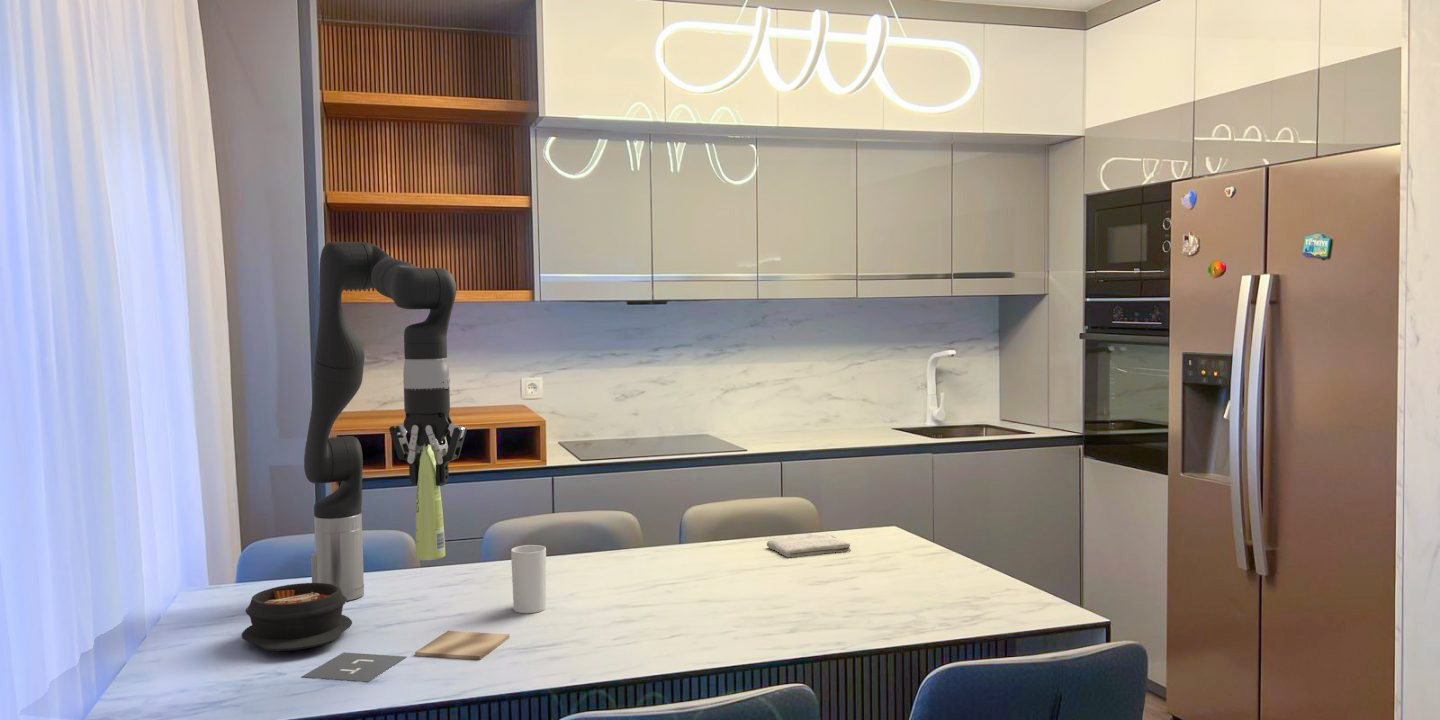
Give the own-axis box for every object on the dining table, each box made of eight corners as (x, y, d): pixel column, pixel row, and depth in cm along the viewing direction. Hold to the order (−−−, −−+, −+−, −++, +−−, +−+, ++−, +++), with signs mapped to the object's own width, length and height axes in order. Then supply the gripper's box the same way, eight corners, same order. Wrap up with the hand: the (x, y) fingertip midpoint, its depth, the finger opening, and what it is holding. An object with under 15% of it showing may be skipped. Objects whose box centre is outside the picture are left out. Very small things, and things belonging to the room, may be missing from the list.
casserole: (240, 627, 194) (239, 583, 194) (345, 613, 202) (343, 571, 202) (242, 668, 172) (241, 618, 172) (360, 650, 180) (358, 603, 180)
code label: (301, 680, 167) (301, 676, 167) (343, 655, 179) (343, 652, 179) (368, 685, 164) (368, 681, 164) (407, 660, 176) (406, 656, 176)
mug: (546, 613, 201) (545, 552, 200) (511, 615, 200) (510, 553, 199) (547, 598, 211) (546, 540, 210) (514, 600, 210) (512, 542, 209)
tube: (407, 557, 177) (404, 444, 177) (433, 552, 181) (430, 441, 180) (426, 562, 174) (423, 447, 173) (451, 557, 177) (449, 444, 177)
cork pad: (415, 655, 177) (415, 652, 177) (448, 633, 188) (448, 630, 188) (480, 659, 174) (480, 656, 174) (509, 637, 186) (509, 634, 186)
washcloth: (854, 553, 249) (854, 540, 249) (787, 560, 242) (786, 547, 242) (830, 543, 260) (830, 530, 260) (765, 550, 253) (765, 537, 253)
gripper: (377, 386, 174) (380, 487, 175) (453, 387, 171) (456, 490, 172) (401, 383, 181) (403, 480, 182) (475, 383, 178) (477, 482, 179)
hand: (429, 484), depth 177 cm, fingers closed on tube, 4 cm apart
